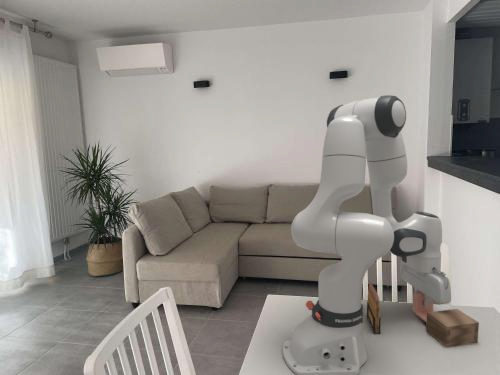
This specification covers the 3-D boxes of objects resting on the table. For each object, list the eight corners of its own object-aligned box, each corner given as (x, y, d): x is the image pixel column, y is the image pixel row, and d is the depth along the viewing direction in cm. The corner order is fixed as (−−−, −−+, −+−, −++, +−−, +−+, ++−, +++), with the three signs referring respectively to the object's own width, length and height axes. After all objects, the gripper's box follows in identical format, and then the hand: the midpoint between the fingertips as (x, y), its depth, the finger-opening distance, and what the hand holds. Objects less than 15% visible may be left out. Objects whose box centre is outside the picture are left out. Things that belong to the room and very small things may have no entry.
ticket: (442, 334, 99) (443, 313, 98) (412, 311, 112) (413, 292, 111) (461, 332, 100) (462, 310, 99) (429, 309, 113) (430, 290, 112)
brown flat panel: (366, 315, 113) (367, 280, 111) (372, 316, 113) (373, 280, 111) (373, 334, 102) (374, 295, 101) (380, 334, 102) (381, 296, 100)
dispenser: (445, 347, 95) (446, 326, 94) (426, 331, 103) (426, 312, 102) (477, 342, 96) (478, 322, 96) (456, 327, 104) (457, 308, 103)
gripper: (458, 274, 100) (455, 319, 102) (414, 251, 120) (412, 289, 122) (438, 276, 99) (436, 321, 101) (397, 253, 119) (396, 291, 121)
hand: (423, 304), depth 111 cm, fingers closed on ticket, 2 cm apart
